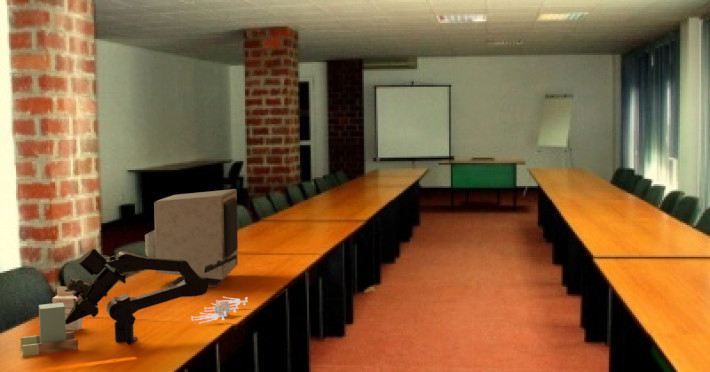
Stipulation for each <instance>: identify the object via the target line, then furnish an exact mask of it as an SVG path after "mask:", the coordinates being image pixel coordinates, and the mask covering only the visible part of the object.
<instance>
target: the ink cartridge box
mask: <svg viewBox="0 0 710 372" xmlns="http://www.w3.org/2000/svg"><path fill="white" fill-rule="evenodd" d="M66 286H67V285H66ZM66 286H56V293H57V294H56V295H55V296H54V297H52V299H51V300H52V301H51V302H52V303H51V304H53V303H63V304H64V306H65V320H66V318H67V316H68V315H69V313H70V311H71V310H72V308H73V306H74V303H73V298H74V299H75V300H76V299H77V297H76V296H74V295H73V294H72V293H73V292H74V290H72V291H67V290H69V289H67V287H66ZM65 325H66V331H79V330H82V329H83V318H81V319H78V320H76V321H74V322H72V323H70V324H65Z"/></svg>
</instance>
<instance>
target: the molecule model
mask: <svg viewBox="0 0 710 372" xmlns="http://www.w3.org/2000/svg"><path fill="white" fill-rule="evenodd" d="M234 259H237V255H233V256H229V258H228V257H225V258H223V260H222V261H221V260H218V261H217V264H214V265H213V264H209V265H207V266H205V271H204V273H207V272H209V271H210V270H213V269H216V268H218V267H219V266H222V265H224V264H225V263H227V262H230V261H232V260H234ZM223 298H224V299H223V300H222V299H221V300H217V299H216V300H215V303H210V304H211V305H213V307H212V306H211V307H204V312H199V314H200V315H199V316H191V321H192V322H193V321H199V320H205V321H201V322H198V324H203V323H206V322H211V321H215V320H218V319H219V318H221V321H225V317H227V316H228V315H229V314H230V312H231V311H233V313H237V310H239V307H238V306H240V305H241V303H242V305H243V306H246V303H248V302H249V301H248V296H246V297H244V298H245V300H241V299H240V298H234V297H226V296H223ZM226 299H227V300H226ZM234 306H235V307H234ZM207 309H211V310H210V312H214V313H205V312H207ZM201 314H202V315H201ZM194 318H195V319H194Z"/></svg>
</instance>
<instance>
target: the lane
mask: <svg viewBox="0 0 710 372" xmlns="http://www.w3.org/2000/svg"><path fill="white" fill-rule="evenodd" d="M36 336H37V344H39V354H38V355H43V354H50V353H51V354H52V353H53V354H54V353H61V352H68V351H69V352H70V351H76V350H79V340H78V338H76V339H75V330H72V331H66V340H64V341H56V342H47V343H40V334H39V335H36Z"/></svg>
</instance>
